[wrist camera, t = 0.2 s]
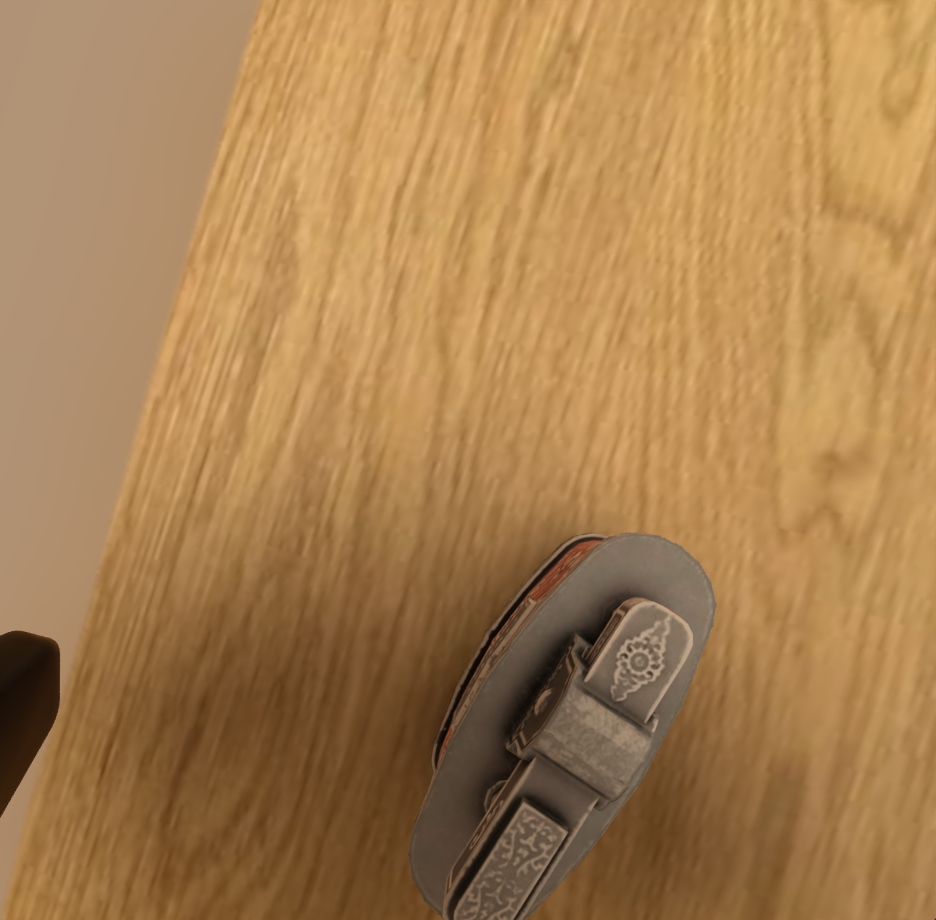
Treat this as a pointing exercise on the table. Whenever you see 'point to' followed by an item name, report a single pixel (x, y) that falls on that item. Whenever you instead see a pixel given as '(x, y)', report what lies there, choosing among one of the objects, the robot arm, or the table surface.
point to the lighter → (558, 721)
